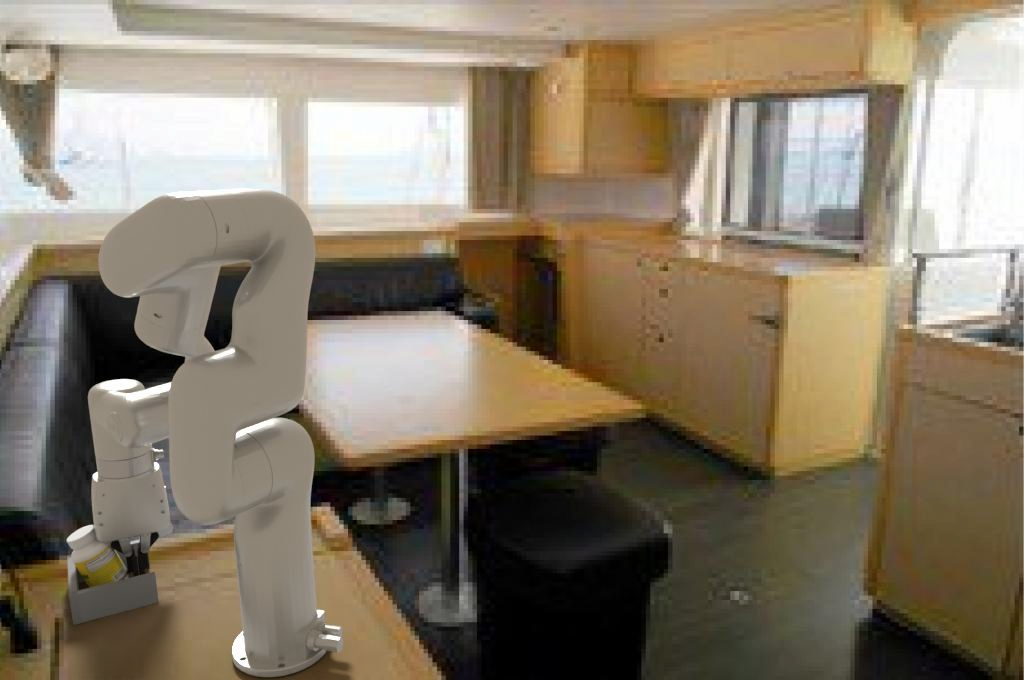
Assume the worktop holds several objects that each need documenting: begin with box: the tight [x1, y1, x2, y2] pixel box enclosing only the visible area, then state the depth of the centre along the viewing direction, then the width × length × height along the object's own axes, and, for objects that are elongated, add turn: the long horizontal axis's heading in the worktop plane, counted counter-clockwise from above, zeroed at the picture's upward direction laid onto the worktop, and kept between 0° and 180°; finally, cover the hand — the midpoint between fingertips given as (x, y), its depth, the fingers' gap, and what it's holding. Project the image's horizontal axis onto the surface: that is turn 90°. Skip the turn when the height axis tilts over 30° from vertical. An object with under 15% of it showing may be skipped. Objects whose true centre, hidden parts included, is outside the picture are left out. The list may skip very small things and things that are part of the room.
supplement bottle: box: [66, 524, 131, 588], centre depth 114 cm, size 5×5×10 cm
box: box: [66, 539, 160, 626], centre depth 115 cm, size 11×13×4 cm
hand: (139, 574), depth 117 cm, fingers closed
